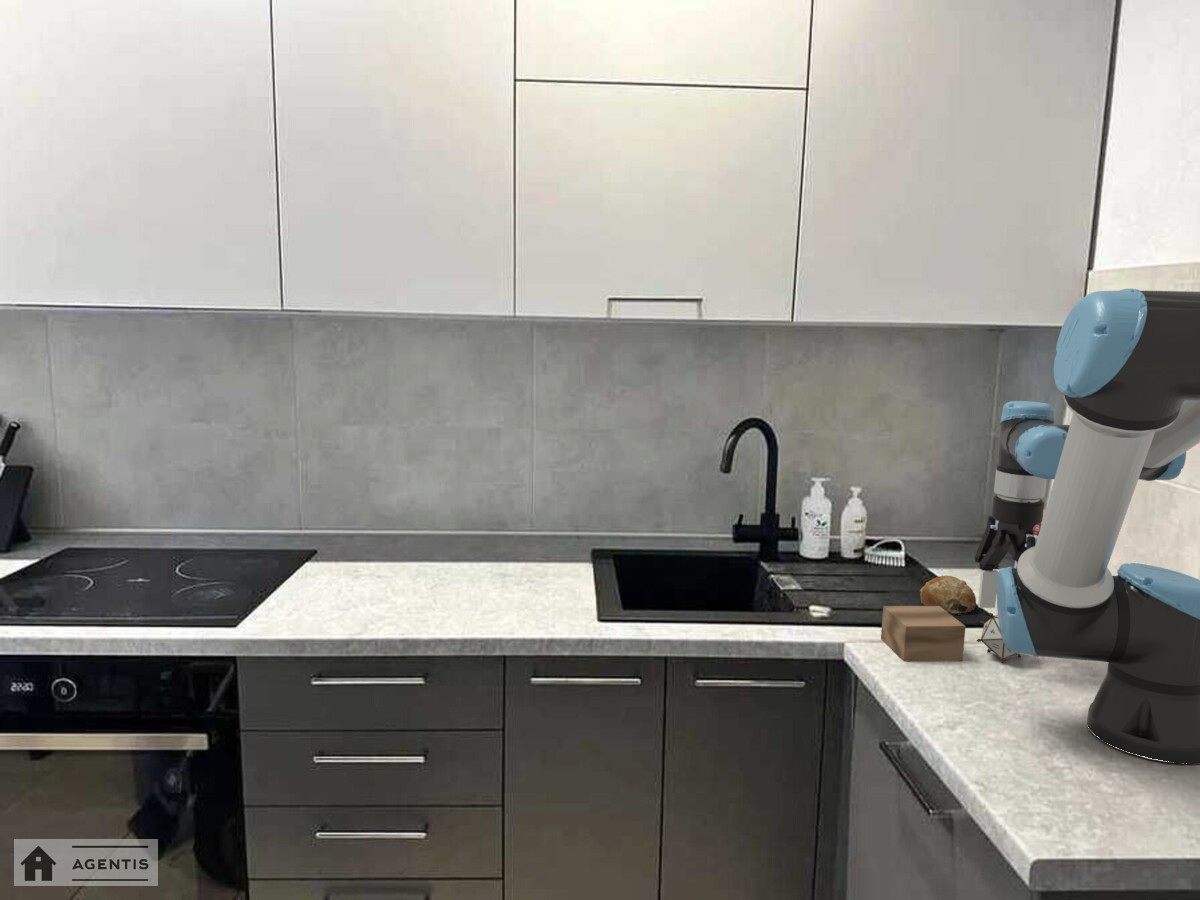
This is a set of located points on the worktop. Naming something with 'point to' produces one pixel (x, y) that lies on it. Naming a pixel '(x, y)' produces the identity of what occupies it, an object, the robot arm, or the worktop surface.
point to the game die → (995, 639)
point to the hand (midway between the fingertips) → (1006, 621)
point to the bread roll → (948, 594)
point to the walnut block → (923, 633)
